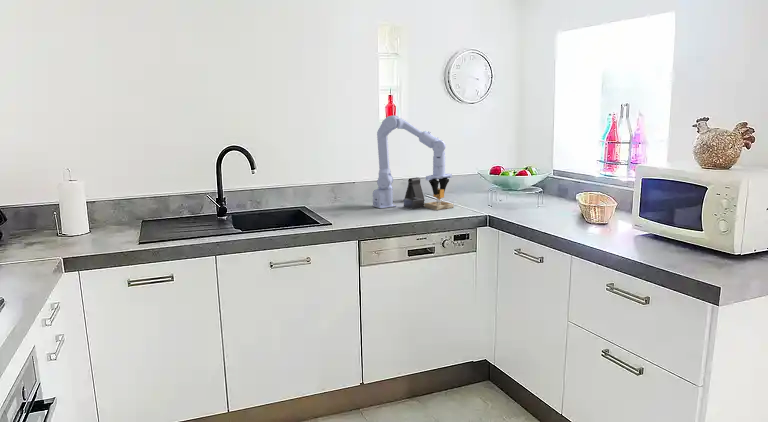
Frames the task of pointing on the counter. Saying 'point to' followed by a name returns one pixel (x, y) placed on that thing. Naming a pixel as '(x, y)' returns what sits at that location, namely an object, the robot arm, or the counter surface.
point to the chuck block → (414, 203)
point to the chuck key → (439, 196)
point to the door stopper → (414, 189)
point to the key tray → (433, 206)
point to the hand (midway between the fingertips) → (438, 194)
